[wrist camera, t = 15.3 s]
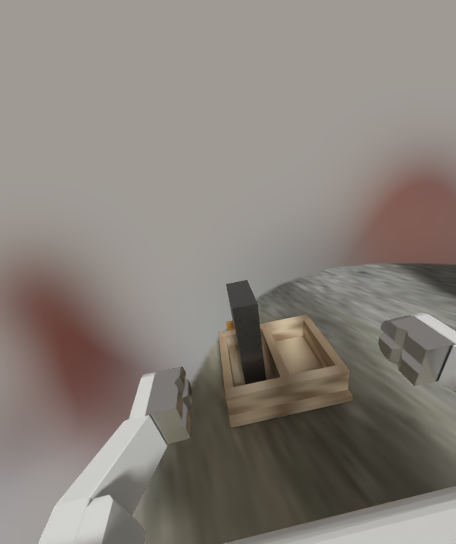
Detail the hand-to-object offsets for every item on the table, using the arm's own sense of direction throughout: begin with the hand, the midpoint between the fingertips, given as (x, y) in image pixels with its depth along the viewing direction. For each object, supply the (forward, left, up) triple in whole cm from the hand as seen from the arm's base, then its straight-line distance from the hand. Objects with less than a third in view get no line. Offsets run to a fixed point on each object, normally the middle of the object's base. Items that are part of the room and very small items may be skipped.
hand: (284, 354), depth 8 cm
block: (0, -13, -17) cm, 21 cm away
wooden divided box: (-3, -13, -18) cm, 22 cm away
